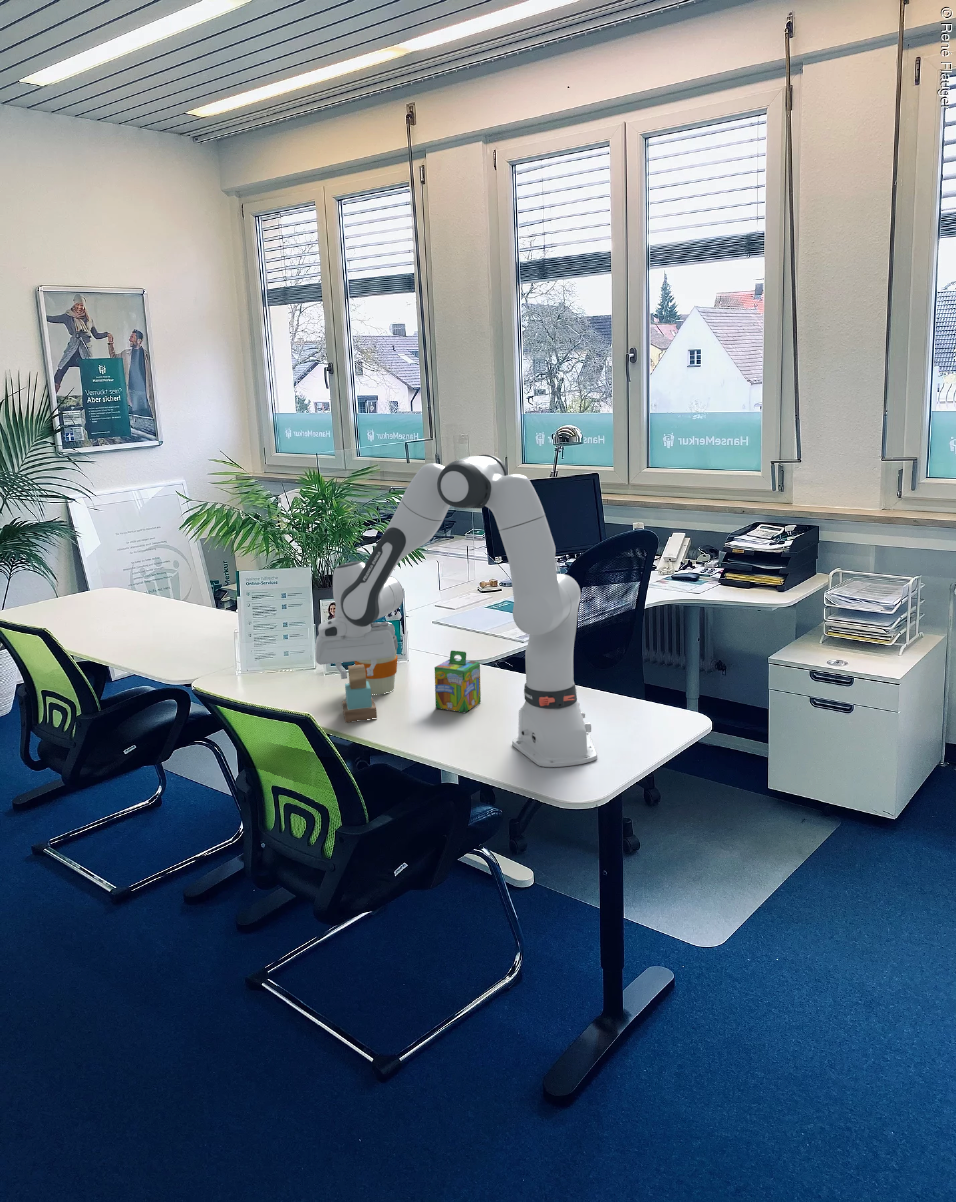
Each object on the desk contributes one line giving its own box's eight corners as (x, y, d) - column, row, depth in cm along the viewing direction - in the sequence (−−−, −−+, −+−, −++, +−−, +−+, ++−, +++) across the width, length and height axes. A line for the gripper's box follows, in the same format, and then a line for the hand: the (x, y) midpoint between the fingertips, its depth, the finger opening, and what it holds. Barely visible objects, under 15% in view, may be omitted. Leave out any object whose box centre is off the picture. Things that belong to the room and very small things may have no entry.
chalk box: (434, 709, 251) (432, 655, 248) (452, 698, 259) (449, 645, 255) (465, 714, 247) (463, 658, 243) (482, 702, 255) (480, 649, 251)
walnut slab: (377, 719, 246) (376, 707, 245) (345, 722, 244) (344, 711, 243) (373, 708, 253) (372, 697, 252) (343, 712, 252) (342, 701, 251)
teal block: (371, 706, 246) (370, 688, 244) (348, 709, 244) (347, 690, 243) (369, 699, 251) (368, 681, 250) (346, 701, 250) (345, 683, 249)
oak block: (366, 687, 245) (365, 668, 244) (350, 689, 244) (349, 670, 243) (364, 682, 249) (363, 664, 248) (349, 684, 248) (348, 666, 247)
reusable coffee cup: (406, 693, 265) (403, 640, 261) (362, 700, 260) (358, 647, 257) (393, 680, 276) (389, 630, 272) (350, 687, 272) (346, 636, 268)
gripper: (392, 617, 248) (395, 668, 251) (312, 625, 244) (316, 677, 247) (395, 623, 242) (399, 676, 245) (313, 631, 238) (318, 684, 241)
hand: (357, 676), depth 246 cm, fingers open, 5 cm apart
